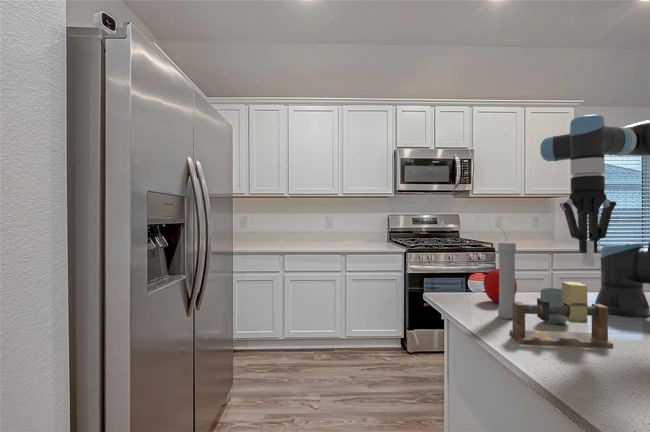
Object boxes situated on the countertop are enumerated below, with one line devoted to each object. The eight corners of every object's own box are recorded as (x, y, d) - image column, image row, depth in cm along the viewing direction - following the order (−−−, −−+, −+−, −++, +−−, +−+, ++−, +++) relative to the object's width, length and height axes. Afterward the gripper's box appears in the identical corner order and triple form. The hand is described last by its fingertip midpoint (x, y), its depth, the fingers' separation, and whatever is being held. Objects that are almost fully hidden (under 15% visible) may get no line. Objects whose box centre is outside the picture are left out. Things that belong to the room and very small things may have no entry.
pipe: (518, 319, 128) (518, 224, 128) (497, 318, 130) (497, 224, 129) (513, 315, 134) (513, 224, 134) (493, 314, 135) (493, 224, 135)
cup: (559, 327, 120) (559, 293, 119) (535, 321, 126) (535, 289, 126) (575, 324, 123) (575, 291, 123) (550, 318, 130) (550, 287, 130)
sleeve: (577, 318, 110) (577, 282, 109) (587, 323, 104) (587, 285, 104) (561, 317, 110) (561, 281, 110) (570, 322, 105) (570, 285, 105)
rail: (595, 336, 111) (595, 301, 111) (613, 347, 102) (613, 309, 102) (509, 333, 114) (509, 299, 114) (520, 343, 105) (520, 307, 105)
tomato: (519, 301, 155) (519, 266, 155) (514, 307, 145) (514, 270, 144) (486, 297, 161) (486, 264, 161) (480, 303, 151) (480, 268, 151)
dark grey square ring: (541, 316, 111) (541, 298, 111) (549, 321, 106) (549, 302, 106) (537, 316, 111) (537, 298, 111) (544, 321, 106) (544, 302, 106)
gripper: (606, 175, 109) (607, 263, 110) (554, 177, 111) (556, 263, 112) (622, 173, 102) (623, 267, 102) (566, 175, 104) (568, 267, 104)
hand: (588, 265), depth 107 cm, fingers closed
